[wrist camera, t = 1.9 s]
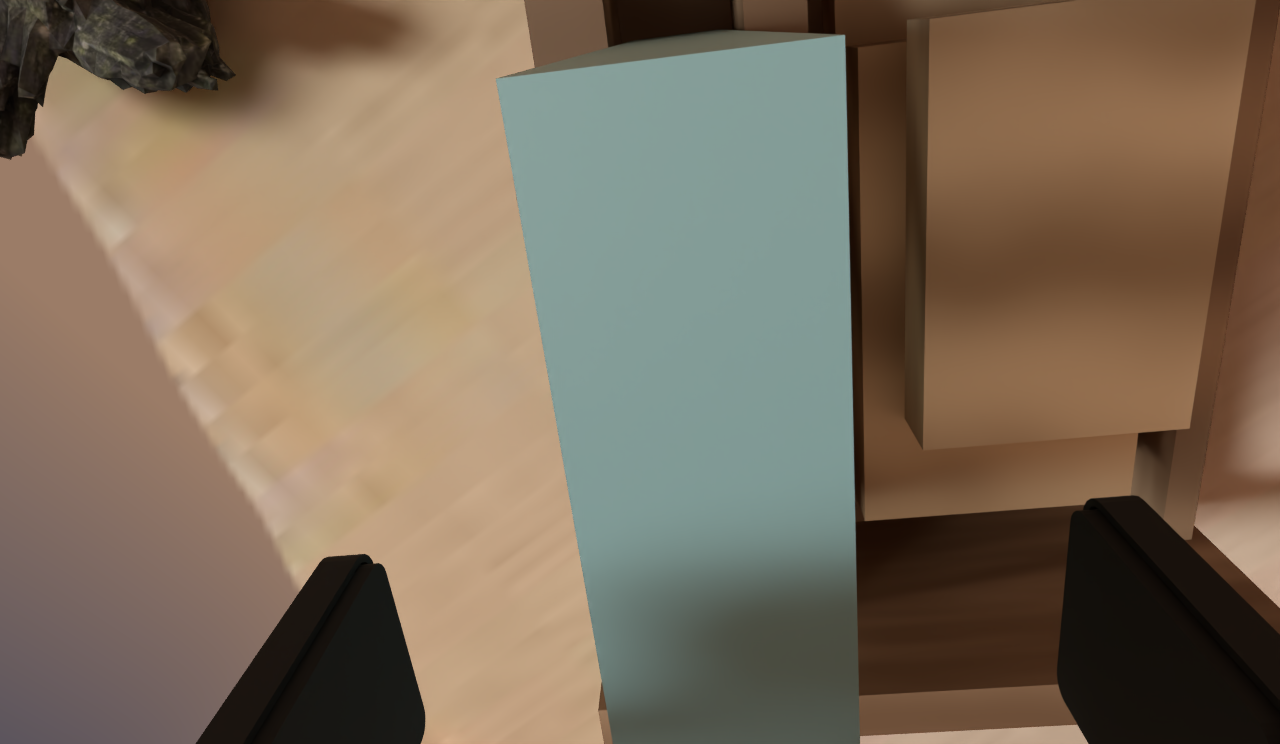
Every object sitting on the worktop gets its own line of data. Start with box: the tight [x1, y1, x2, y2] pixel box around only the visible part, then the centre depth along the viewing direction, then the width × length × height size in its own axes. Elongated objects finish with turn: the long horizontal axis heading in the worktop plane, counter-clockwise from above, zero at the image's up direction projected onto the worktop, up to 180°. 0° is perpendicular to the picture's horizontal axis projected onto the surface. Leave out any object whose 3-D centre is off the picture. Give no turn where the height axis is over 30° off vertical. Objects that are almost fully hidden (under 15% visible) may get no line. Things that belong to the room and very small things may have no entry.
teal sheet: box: [496, 30, 860, 744], centre depth 18 cm, size 14×2×20 cm, turn 7°
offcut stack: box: [822, 0, 1256, 521], centre depth 23 cm, size 16×9×6 cm, turn 7°
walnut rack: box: [524, 0, 1280, 744], centre depth 23 cm, size 24×20×10 cm
